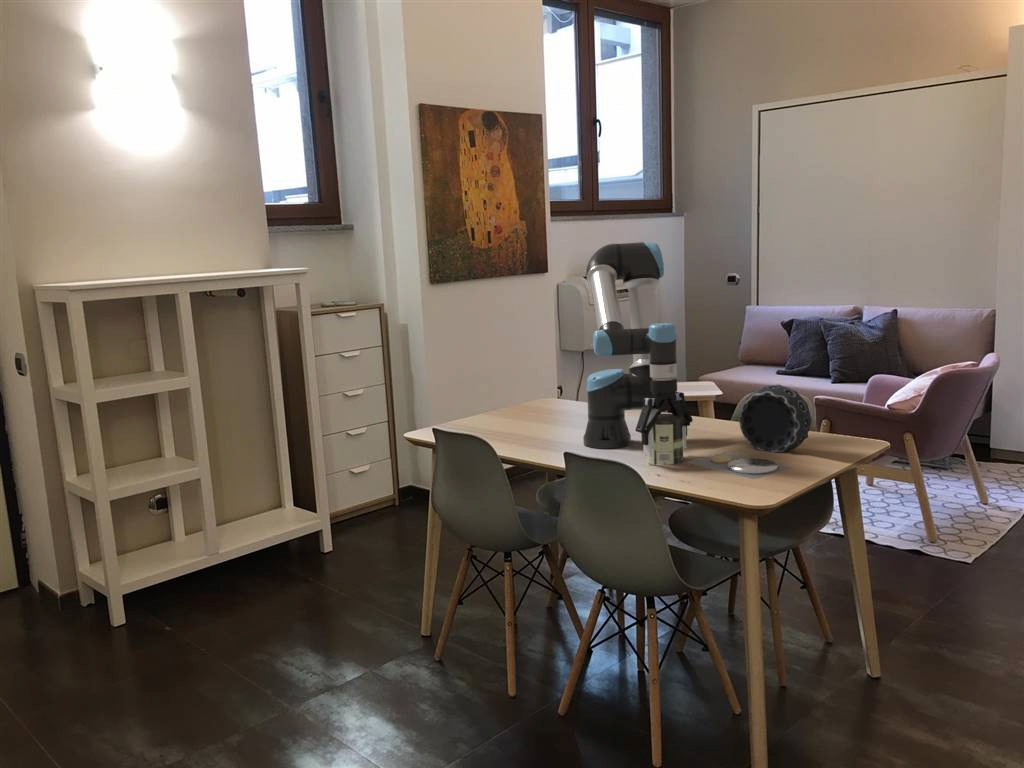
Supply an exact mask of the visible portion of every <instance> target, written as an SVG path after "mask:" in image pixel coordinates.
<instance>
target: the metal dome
mask: <svg viewBox="0 0 1024 768" xmlns="http://www.w3.org/2000/svg"><path fill="white" fill-rule="evenodd" d="M748 458H749V459H738V460H733V461H730V462H729V463H728V469H729V470H730V471H732V472H735V473H740V474H750V475H760V474H768V473H772V472H775V471H777V464H778V463H776V462H775V461H773V460H769V459H764V458H753V457H748ZM752 458H753V459H752ZM772 474H773V473H772Z"/></svg>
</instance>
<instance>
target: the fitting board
mask: <svg viewBox="0 0 1024 768" xmlns="http://www.w3.org/2000/svg"><path fill="white" fill-rule="evenodd" d="M749 458H750V457H747V456H743V455H738V454H734V453H730V452H725V451H723V452H719V453H716V454H713V455H709V456H704V457H700V458H697V459H693V460H689V461H685V463H686V464H690V465H694V466H699V467H702V468H706V469H711V470H714V471H719V472H722V473H727V474H732V475H735V476H738V477H739V476H740V477H743V478H747V479H753V480H755V479H759V478H761V477H765V476H768V475H769V476H770V475H773V474H775V473H779V472H782V471H785V470H789V469H792V468H793V467H792V466H789V465H785V464H779V463H776V464H777V471H775V472H772V473H768V474H760V475H750V474H740V473H735V472H732V471H730V470H729V469H728V463H729V462H730V461H733V460H738V459H749ZM751 458H752V459H754V458H753V457H751Z"/></svg>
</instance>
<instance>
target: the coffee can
mask: <svg viewBox="0 0 1024 768" xmlns="http://www.w3.org/2000/svg"><path fill="white" fill-rule="evenodd" d="M682 420H683V417H682V416H681V415H673V414H672V413H661V414H659V415H658V417H657V419H656V420H655V423H654V425H653V427H652V429H651V430H650V432H649V433H651V434H652V457H649V456H647V466H648V467H652V466H655V465H661V466H662V465H663V466H664V465H667V466H668V465H676V464H681V463H683V461H684V448H683V425H682Z"/></svg>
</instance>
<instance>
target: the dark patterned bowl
mask: <svg viewBox="0 0 1024 768" xmlns="http://www.w3.org/2000/svg"><path fill="white" fill-rule="evenodd" d="M738 418H739V422H738V423H739V428H740V431H741V433H742V435H743V438H745V440H746V441H747V442H748V444H749V445H750V446H752V447H753V448H754V449H756V450H757V451H760V452H769V453H770V452H771V453H785V452H786V453H787V452H790V451H793V450H795V449H797V448H798V447H799V446H800V445H802V443H803V442H804V441H805V440H806V439H808V436H809V432H810V430H811V424H812V423H813V419H812V417H811V411H810V409H809V403H808V402H807V401H806V400H805V398H803V397H802V396H801V395H800V394H799V392H798V391H797V390H796V389H792V388H790V387H787V386H784V385H781V384H774V385H767V386H762V387H760V388H758V389H757V390H755V391H753V392H751V393H750V394H749V395H748V397H746V399H745V400H744V401H743V404H742V406H741V408H740V411H739V417H738Z"/></svg>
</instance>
